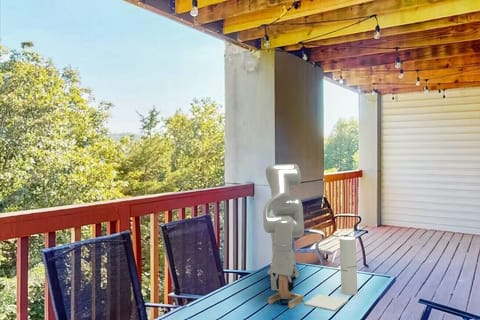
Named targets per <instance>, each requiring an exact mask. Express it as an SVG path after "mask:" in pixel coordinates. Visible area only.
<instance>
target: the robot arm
mask: <svg viewBox="0 0 480 320" xmlns="http://www.w3.org/2000/svg"><path fill="white" fill-rule="evenodd" d="M265 178H266V181H267V182H268V186H269V188H270V192H271V198H270V199H269V200H268V201H267V203H265V206H264V208H263V215H262V217H263V218H262V219H263V223H262V224H263V229H264V232H266V233H268V234H270V236H271V237H270V238H271V247H272V249H271V250H272V256H271V257H272V259H271V263H272V267H271V268H269V269H268V270H267V273H266V274H267V275H269V276H271V273H272V274H273V276H274V277H275V279H276V286H277V289H279V275H285V276H288V279H289V282H288V291H291V292H292V291H293V290H294V288H295V287H294V285H295V284H294V283H295V280H297V278H299V277H300V276H301V274H300V271H299V270H298V269H297V262H296V255H295V252H294V251H293V238H301V237H303V236H304V233H305V221H304V208H303V203H302V201H301V199H300V198H297V197H291V194H290V186H291V187H292V186H300V184H301V181H302V173H301V170H300V168H299V165H298V164H297V163H296V164H295V163H287V164H285V163H283V164H280V163H279V164H276V163H275V164H271V165H268V166H267V167H266V168H265ZM271 211H272V214H273V216H272V215H271V216H270V213H271ZM269 280H271V277H270V279H269Z"/></svg>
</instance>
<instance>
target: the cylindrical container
mask: <svg viewBox="0 0 480 320" xmlns="http://www.w3.org/2000/svg"><path fill="white" fill-rule="evenodd" d="M356 242H357V241H356V237H353V236H342V237H339V258H340V259H339V263H340V264H339V265H340V285H341V286H340V287H341V288H340V290H341V294H343V295H345V296H355V295H357V294H358V276H357V275H358V273H357V272H358V271H357V269H358V268H357V243H356Z"/></svg>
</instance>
